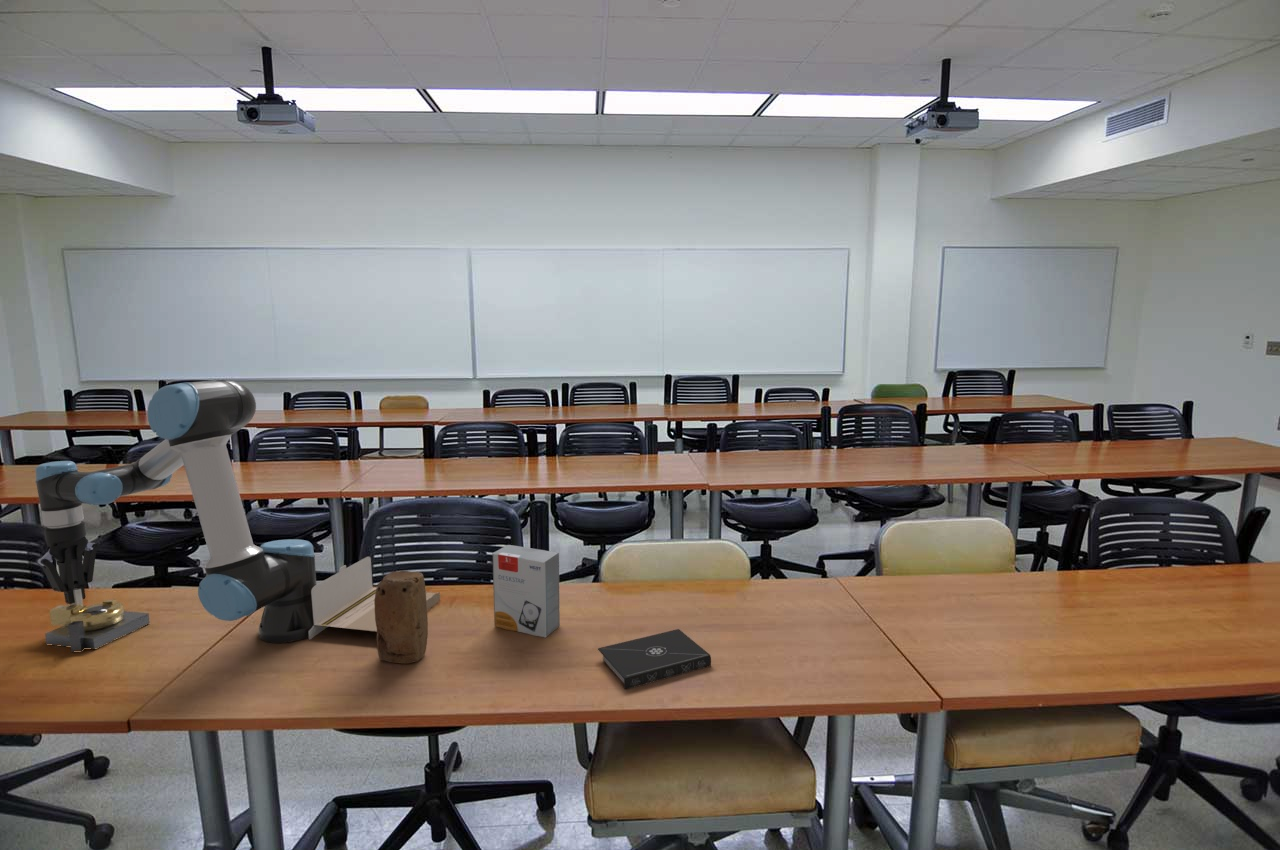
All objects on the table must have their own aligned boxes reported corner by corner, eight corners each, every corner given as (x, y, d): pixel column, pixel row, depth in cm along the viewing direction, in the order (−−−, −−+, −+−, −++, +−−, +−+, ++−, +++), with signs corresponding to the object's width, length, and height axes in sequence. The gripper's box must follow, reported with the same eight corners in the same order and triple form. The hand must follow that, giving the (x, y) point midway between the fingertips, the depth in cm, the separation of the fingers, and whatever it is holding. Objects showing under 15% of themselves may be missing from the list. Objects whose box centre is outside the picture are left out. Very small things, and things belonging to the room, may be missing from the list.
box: (372, 657, 148) (368, 599, 146) (297, 648, 153) (293, 592, 151) (447, 596, 182) (445, 549, 180) (385, 591, 187) (382, 544, 184)
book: (625, 692, 134) (625, 679, 133) (597, 660, 147) (597, 648, 146) (711, 668, 143) (711, 655, 143) (678, 640, 156) (678, 628, 156)
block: (432, 650, 151) (427, 569, 148) (419, 666, 143) (414, 582, 140) (387, 648, 151) (382, 568, 148) (372, 665, 144) (367, 581, 141)
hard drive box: (493, 627, 162) (490, 553, 159) (510, 615, 169) (507, 543, 166) (546, 638, 156) (544, 561, 153) (561, 625, 163) (559, 551, 160)
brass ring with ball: (134, 612, 163) (132, 597, 163) (103, 630, 153) (101, 614, 153) (73, 613, 163) (71, 598, 162) (38, 632, 153) (36, 616, 152)
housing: (149, 624, 164) (146, 598, 163) (85, 654, 149) (82, 626, 148) (104, 619, 167) (101, 594, 166) (37, 649, 151) (33, 621, 150)
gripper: (82, 515, 164) (94, 601, 167) (22, 530, 151) (37, 623, 155) (103, 517, 162) (115, 604, 165) (44, 533, 149) (59, 627, 153)
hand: (77, 613), depth 160 cm, fingers closed
